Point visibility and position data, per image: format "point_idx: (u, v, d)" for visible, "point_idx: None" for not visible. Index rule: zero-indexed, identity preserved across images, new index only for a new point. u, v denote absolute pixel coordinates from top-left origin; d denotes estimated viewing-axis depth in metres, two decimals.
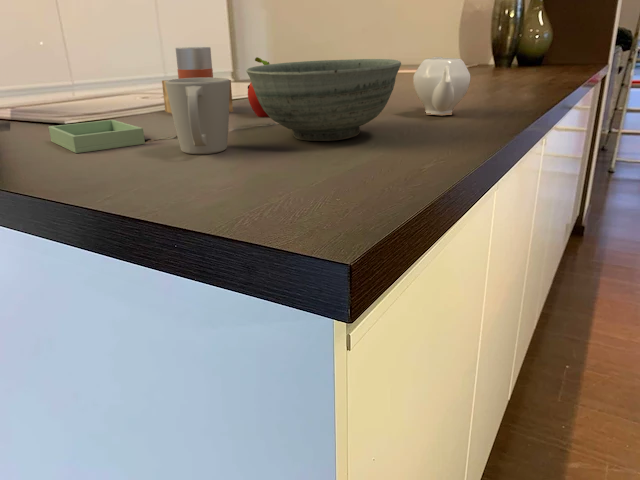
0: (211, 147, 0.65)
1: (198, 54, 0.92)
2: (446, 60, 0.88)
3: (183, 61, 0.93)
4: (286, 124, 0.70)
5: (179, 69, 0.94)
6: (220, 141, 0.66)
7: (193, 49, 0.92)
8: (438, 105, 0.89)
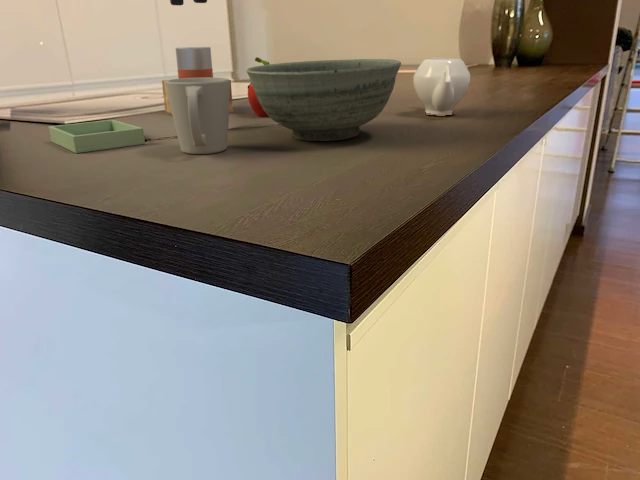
0: (211, 147, 0.65)
1: (198, 54, 0.92)
2: (446, 60, 0.88)
3: (183, 61, 0.93)
4: (286, 124, 0.70)
5: (179, 69, 0.94)
6: (220, 141, 0.66)
7: (193, 49, 0.92)
8: (438, 105, 0.89)
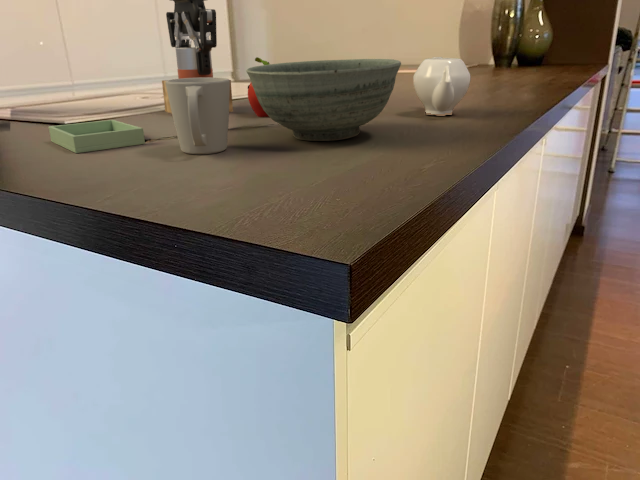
0: (211, 147, 0.65)
1: None
2: (446, 60, 0.88)
3: (183, 61, 0.93)
4: (286, 124, 0.70)
5: (179, 69, 0.94)
6: (220, 141, 0.66)
7: (193, 49, 0.92)
8: (438, 105, 0.89)
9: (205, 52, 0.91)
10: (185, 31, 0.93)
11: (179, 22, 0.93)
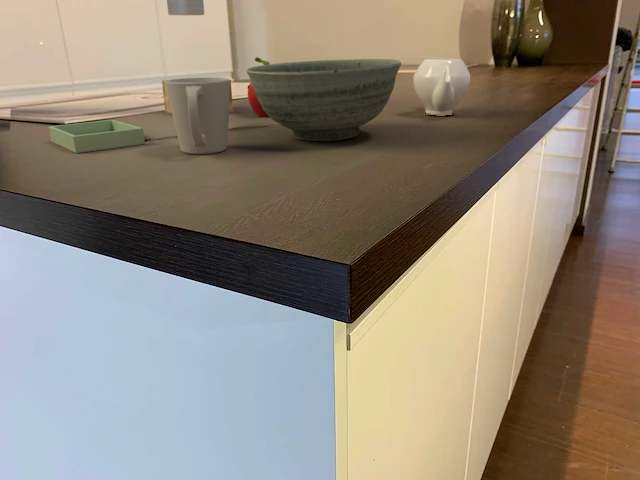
0: (211, 147, 0.65)
1: None
2: (446, 60, 0.88)
3: None
4: (286, 124, 0.70)
5: None
6: (220, 141, 0.66)
7: None
8: (438, 105, 0.89)
9: None
10: None
11: None
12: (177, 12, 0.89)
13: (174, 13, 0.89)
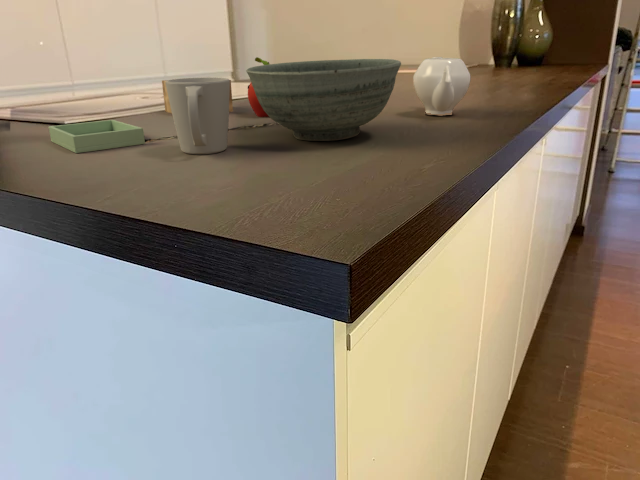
0: (211, 147, 0.65)
1: None
2: (446, 60, 0.88)
3: None
4: (286, 124, 0.70)
5: None
6: (220, 141, 0.66)
7: None
8: (438, 105, 0.89)
9: None
10: None
11: None
12: None
13: None
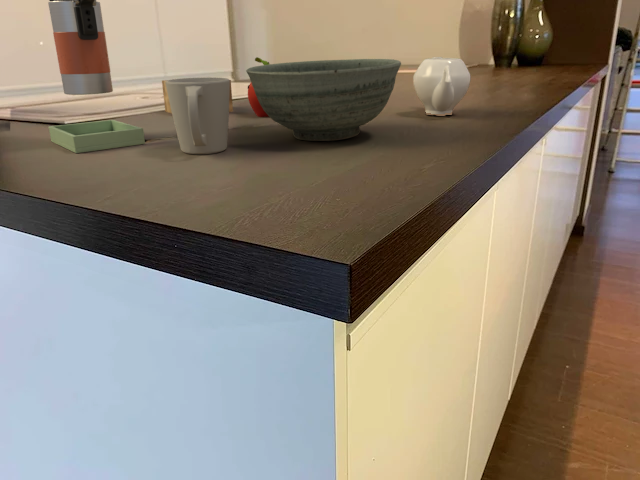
0: (211, 147, 0.65)
1: None
2: (446, 60, 0.88)
3: (57, 20, 0.66)
4: (286, 124, 0.70)
5: (54, 32, 0.67)
6: (220, 141, 0.66)
7: (70, 2, 0.65)
8: (438, 105, 0.89)
9: (86, 7, 0.64)
10: None
11: None
12: (73, 92, 0.68)
13: (69, 93, 0.69)
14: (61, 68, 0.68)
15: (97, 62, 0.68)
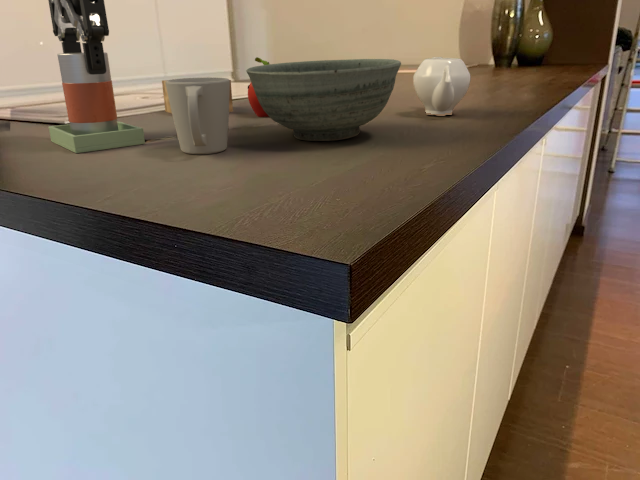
0: (211, 147, 0.65)
1: None
2: (446, 60, 0.88)
3: (66, 72, 0.68)
4: (286, 124, 0.70)
5: (63, 83, 0.69)
6: (220, 141, 0.66)
7: (78, 56, 0.67)
8: (438, 105, 0.89)
9: (94, 43, 0.65)
10: (68, 18, 0.68)
11: (59, 6, 0.68)
12: None
13: None
14: (70, 117, 0.70)
15: (105, 110, 0.70)
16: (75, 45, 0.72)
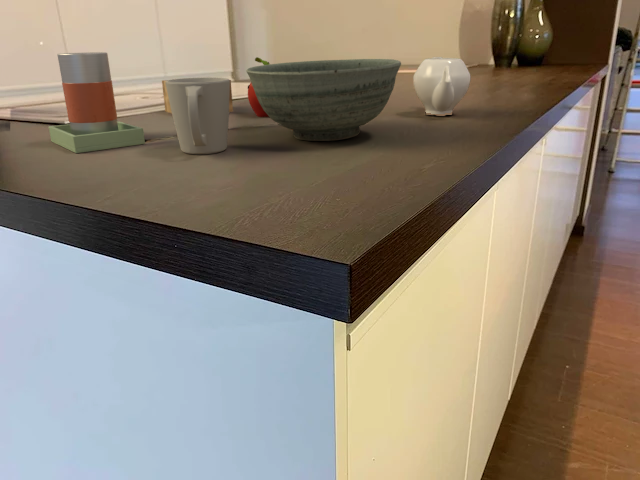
0: (211, 147, 0.65)
1: (86, 62, 0.67)
2: (446, 60, 0.88)
3: (66, 72, 0.68)
4: (286, 124, 0.70)
5: (63, 83, 0.69)
6: (220, 141, 0.66)
7: (78, 56, 0.67)
8: (438, 105, 0.89)
9: None
10: None
11: None
12: None
13: None
14: (70, 117, 0.70)
15: (105, 110, 0.70)
16: None
